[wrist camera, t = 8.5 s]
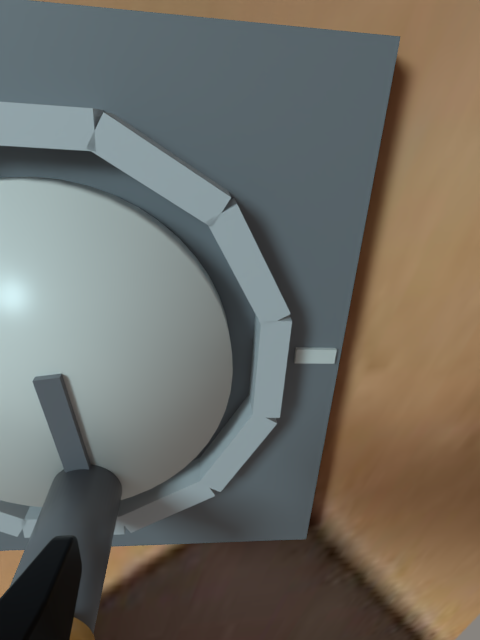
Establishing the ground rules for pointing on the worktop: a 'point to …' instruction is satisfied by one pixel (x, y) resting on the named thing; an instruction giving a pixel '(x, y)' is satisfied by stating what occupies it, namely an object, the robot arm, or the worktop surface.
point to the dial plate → (270, 162)
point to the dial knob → (99, 364)
